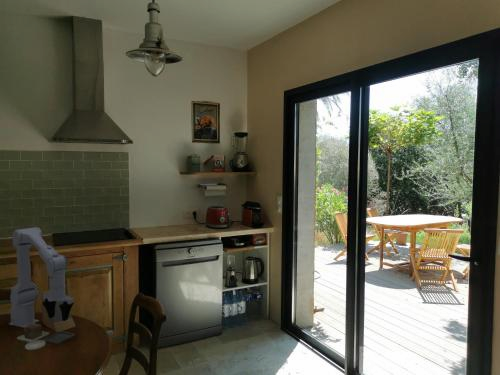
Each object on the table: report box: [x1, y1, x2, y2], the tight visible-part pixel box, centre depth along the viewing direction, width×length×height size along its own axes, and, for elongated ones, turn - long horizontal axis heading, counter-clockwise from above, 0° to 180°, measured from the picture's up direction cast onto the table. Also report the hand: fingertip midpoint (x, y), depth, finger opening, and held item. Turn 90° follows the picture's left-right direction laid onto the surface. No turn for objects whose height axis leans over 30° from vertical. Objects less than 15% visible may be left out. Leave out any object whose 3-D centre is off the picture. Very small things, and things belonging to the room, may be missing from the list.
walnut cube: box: [23, 322, 43, 340], centre depth 160 cm, size 4×4×5 cm
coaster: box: [24, 339, 46, 351], centre depth 152 cm, size 7×7×1 cm
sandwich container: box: [41, 289, 76, 333], centre depth 171 cm, size 9×15×15 cm, turn 49°
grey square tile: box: [42, 330, 76, 345], centre depth 158 cm, size 8×8×1 cm
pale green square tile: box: [16, 330, 50, 343], centre depth 160 cm, size 8×8×1 cm
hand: (58, 318), depth 158 cm, fingers open, 7 cm apart
